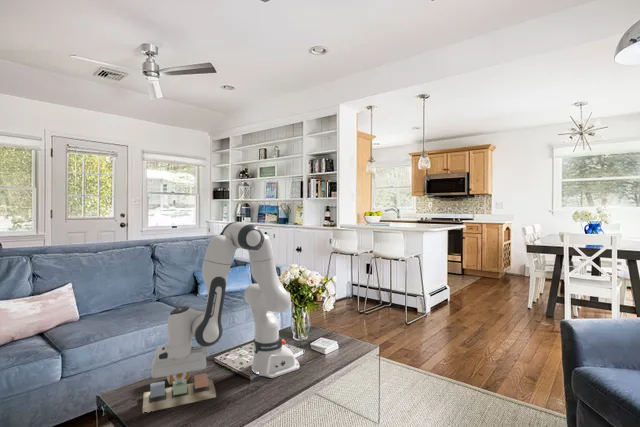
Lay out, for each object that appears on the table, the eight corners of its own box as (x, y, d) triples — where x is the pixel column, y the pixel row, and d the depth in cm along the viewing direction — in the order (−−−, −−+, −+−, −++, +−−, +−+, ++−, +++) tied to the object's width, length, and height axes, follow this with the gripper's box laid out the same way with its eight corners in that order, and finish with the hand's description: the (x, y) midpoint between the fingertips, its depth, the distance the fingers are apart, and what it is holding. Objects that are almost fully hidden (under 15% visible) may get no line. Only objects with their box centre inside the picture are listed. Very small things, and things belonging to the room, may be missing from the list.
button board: (211, 383, 148) (212, 378, 148) (215, 397, 138) (215, 391, 138) (143, 397, 137) (143, 392, 136) (142, 413, 127) (142, 407, 127)
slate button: (164, 388, 137) (164, 381, 137) (164, 395, 132) (164, 387, 132) (150, 391, 135) (150, 383, 135) (150, 398, 130) (150, 390, 130)
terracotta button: (206, 380, 144) (206, 372, 144) (208, 385, 139) (208, 378, 139) (194, 382, 142) (194, 375, 141) (195, 388, 137) (195, 381, 137)
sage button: (186, 386, 140) (186, 378, 140) (187, 392, 136) (187, 385, 136) (172, 388, 138) (172, 381, 138) (173, 395, 134) (173, 387, 134)
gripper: (206, 341, 143) (205, 374, 144) (151, 350, 135) (151, 384, 135) (208, 347, 138) (207, 381, 138) (151, 356, 129) (151, 393, 130)
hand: (179, 383), depth 137 cm, fingers closed, pressing on sage button
